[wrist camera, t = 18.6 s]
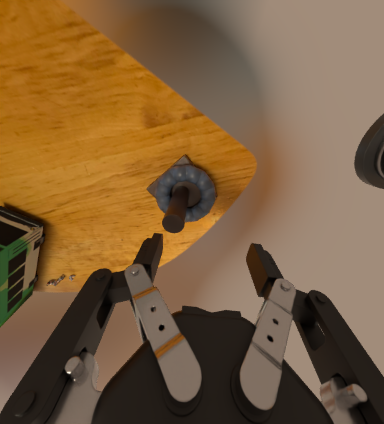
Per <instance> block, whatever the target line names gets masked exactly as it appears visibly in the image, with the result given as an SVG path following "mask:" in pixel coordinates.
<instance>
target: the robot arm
mask: <svg viewBox="0 0 384 424" xmlns="http://www.w3.org/2000/svg"><path fill="white" fill-rule="evenodd" d="M374 166H375V170H376V172H377V174H378V175H379V176H380V177H382V178H383V179H384V139H383V140H382V142H381V144H380V145H379V147H378V149H377V152H376V155H375V160H374ZM162 250H163V234H159V233H154V235H153V237H152V238H147V239H146V240H145V241H144V242H143V244H142V246H141V248H140V250H139V252H138V254H137V256H136V258H135V260H134V262H133V264H132V265H130V266H128V267H127V268H126V270H124V271H120V272H114V273H112V272H111V271H110V270H109V269H106V268H103V269H99V270H97V271H95V272H93V273H92V274H91V275H90V277H89V278H88V280H87V281H86V283H85V284H84V286H83V287H82V289H81V290H80V292H79V293H78V295H77V297H76V298H75V299H74V301H73V302H72V304H71V305H70V307H69V308H68V310H67V312H66V313H65V315H64V316H63V318H62V319H61V321H60V322H59V324H58V326H57V327H56V328H55V330H54V331H53V333H52V334H51V336H50V337H49V339H48V340H47V342H46V343H45V345H44V346H43V348H42V349H41V351H40V352H39V354H38V356H37V357H36V359H35V360H34V362H33V363H32V365H31V366H30V368H29V369H28V371H27V372H26V374H25V375H24V377H23V378H22V380H21V381H20V383H19V384H18V386H17V387H16V389H15V391H14V392H13V393H12V395H11V396H10V398H9V400H8V401H7V403H6V404H5V406H4V408H3V410H2V411H1V413H0V424H384V377H383V375H382V374H381V372H380V371H379V370H378V368H377V367H376V365H375V364H374V363H373V361H372V359H371V358H370V357H369V355H368V354H367V352H366V351H365V350H364V348H363V346H362V345H361V344H360V342H359V341H358V339H357V338H356V336H355V335H354V333H353V332H352V331H351V329H350V328H349V326H348V325H347V323H346V322H345V320H344V319H343V318H342V316H341V315H340V313H339V312H338V310H337V309H336V307H335V306H334V305H333V303H332V302H331V300H330V299H329V298H328V297H327V296H326V295H324V294H323V293H321V292H319V291H315V290H311V291H310V292H309V293H308V294H307V293H305V292H302V291H299V290H296V289H295V287H294V286H293V285H292V284H291V283H290V282H289V281H287V280H285V279H284V278H283V276H282V274H281V272H280V271H279V269H278V267H277V265H276V263H275V261H274V260H273V258H272V256H271V255H270V254H269V253H268V252H267V251H265V250H263V247H262V245H261V244H253V243H252V244H251V245H250V248H249V251H248V253H247V257H246V262H247V265H248V268H249V271H250V274H251V277H252V280H253V283H254V286H255V289H256V291H257V295H258V297H264V299H265V301H264V302H263V305H262V307H261V309H260V312H259V314H258V317H257V319H256V321H255V323H254V324H252V323H251V322H250V321H248V320H247V319H245V318H243V317H241V313H240V311H230V310H224V311H219V312H213V313H211V312H208V311H206V310H203V309H200V308H198V307H191V306H182V310H181V311H178V312H175V313H173V314H171V313H170V311H169V309H168V308H167V306H166V304H165V302H164V300H163V298H162V296H161V294H160V292H159V290H158V289H157V287H154V286H153V281H154V278H155V275H156V271H157V268H158V265H159V261H160V258H161V255H162ZM127 300H129V301H130V304H131V307H132V310H133V313H134V316H135V319H136V322H137V326H138V330H139V333H140V336H141V339H142V342H143V344H142V345H141V346H140V347H139V349H138V350H137V351H136V352H135V353H134V354H133V355H132V356H131V357H130V358H129V360H128V361H127V362H126V363H125V364H124V365H123V366H122V367H121V368H120V369H119V371H118V372H117V373H116V374H115V375H114V376H113V377H112V378H111V380H110V381H109V382H108V383H107V385H106V386H105V388H104V389H103V391H102V392H101V391H97V388H96V383H97V378H98V374H99V367H98V364H97V363H96V360H95V358H94V355H95V353H96V350H97V347H98V345H99V343H100V340H101V338H102V336H103V333H104V331H105V328H106V326H107V323H108V321H109V318H110V316H111V314H112V311H113V309H114V306H115V304H116V303H118V302H123V301H127ZM292 320H294V322H295V324H296V326H297V329H298V331H299V333H300V336H301V338H302V340H303V343H304V345H305V347H306V350H307V352H308V354H309V357H310V359H311V361H312V364H313V366H314V368H315V371H316V373H317V375H318V377H319V380H320V382H321V387H320V396H321V399H322V401H321V402H320V401H319V399H318V398H317V397H316V396H315V395H314V393H313V392H312V391H311V390H310V389H309V388H308V386H307V385H306V384H305V383H304V382H303V381H302V380H301V378H300V377H299V376H298V375H297V374H296V373H295V371H294V370H293V369H292V368H291V367H290V366H289V364H288V363H287V362H286V361H285V360H284V359H283V357H284V353H285V348H286V344H287V339H288V335H289V331H290V326H291V322H292ZM318 324H319V325H318ZM319 326H320V327H321V328H320V327H319ZM321 329H322V330H321ZM322 331H323V332H322ZM323 333H324V334H323ZM324 335H325V336H324Z"/></svg>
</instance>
